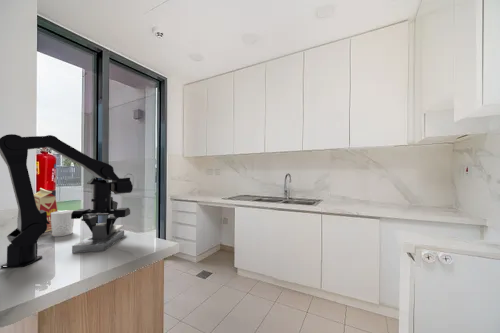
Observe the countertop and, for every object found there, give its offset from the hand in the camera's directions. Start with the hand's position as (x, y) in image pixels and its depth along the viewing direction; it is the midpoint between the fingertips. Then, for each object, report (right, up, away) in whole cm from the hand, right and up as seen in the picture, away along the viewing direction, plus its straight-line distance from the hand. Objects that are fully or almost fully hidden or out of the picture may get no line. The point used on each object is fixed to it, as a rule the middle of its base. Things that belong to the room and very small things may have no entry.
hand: (101, 234), depth 81 cm
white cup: (-25, -4, +11) cm, 28 cm away
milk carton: (-39, -4, +16) cm, 43 cm away
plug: (0, -1, 0) cm, 1 cm away
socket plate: (0, -3, 0) cm, 3 cm away
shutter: (-1, 0, +7) cm, 7 cm away
